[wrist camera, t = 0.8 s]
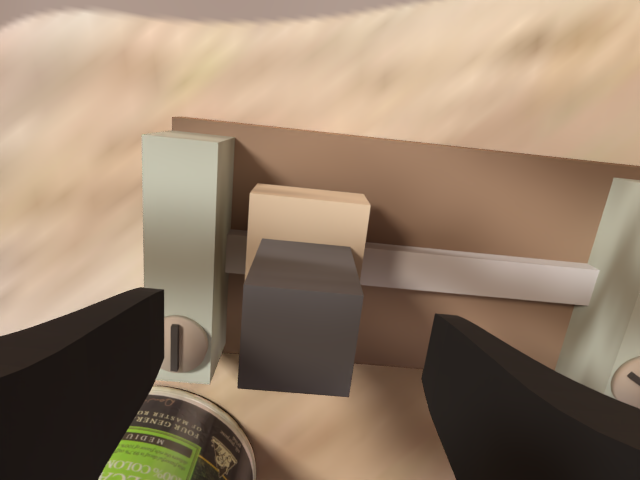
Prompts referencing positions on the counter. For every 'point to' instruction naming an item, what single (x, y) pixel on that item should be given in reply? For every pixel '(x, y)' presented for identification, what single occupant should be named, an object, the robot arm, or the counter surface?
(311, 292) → the carriage
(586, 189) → the rail board
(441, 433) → the robot arm
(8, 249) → the counter surface
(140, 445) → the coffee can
